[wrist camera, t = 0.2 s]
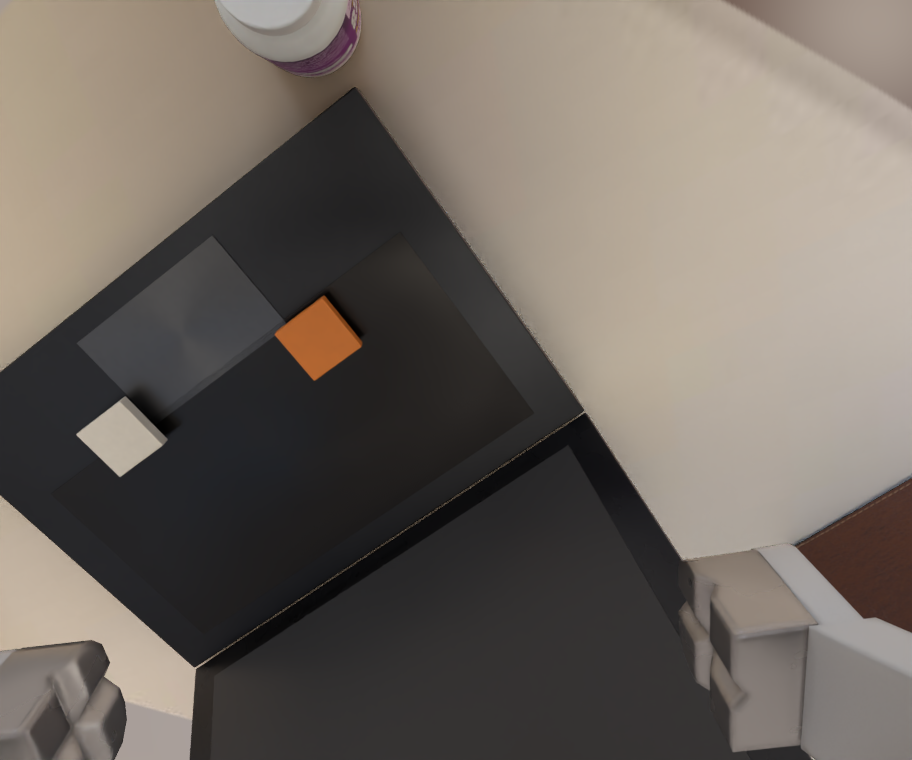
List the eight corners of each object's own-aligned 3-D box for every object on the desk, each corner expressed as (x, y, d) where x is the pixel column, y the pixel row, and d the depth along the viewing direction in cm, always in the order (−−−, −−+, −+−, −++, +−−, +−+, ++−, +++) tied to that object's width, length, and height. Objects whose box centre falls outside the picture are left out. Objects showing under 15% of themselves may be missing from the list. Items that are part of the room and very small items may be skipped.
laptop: (-49, 416, 38) (-75, 431, 36) (358, 89, 33) (354, 85, 31) (203, 646, 44) (193, 669, 43) (577, 398, 40) (585, 411, 38)
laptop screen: (159, 1152, 26) (177, 1149, 27) (841, 805, 21) (846, 811, 22) (194, 668, 43) (205, 672, 43) (584, 411, 38) (591, 419, 38)
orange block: (276, 330, 34) (273, 334, 34) (324, 294, 34) (322, 298, 33) (316, 376, 35) (314, 381, 35) (363, 342, 35) (362, 347, 34)
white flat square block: (82, 428, 36) (75, 434, 35) (125, 395, 35) (119, 401, 35) (125, 470, 37) (119, 477, 36) (168, 439, 36) (163, 445, 35)
